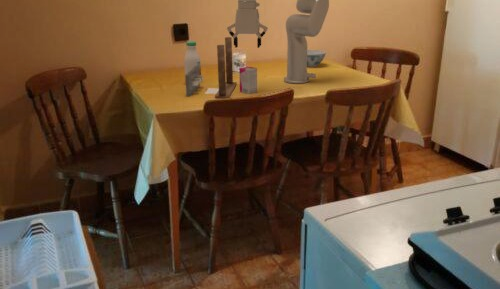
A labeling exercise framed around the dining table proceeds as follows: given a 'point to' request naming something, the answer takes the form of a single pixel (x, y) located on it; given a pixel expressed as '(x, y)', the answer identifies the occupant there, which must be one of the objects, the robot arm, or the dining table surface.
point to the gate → (224, 84)
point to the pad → (212, 91)
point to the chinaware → (314, 57)
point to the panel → (192, 80)
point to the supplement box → (248, 80)
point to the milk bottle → (191, 58)
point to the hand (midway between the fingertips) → (247, 47)
